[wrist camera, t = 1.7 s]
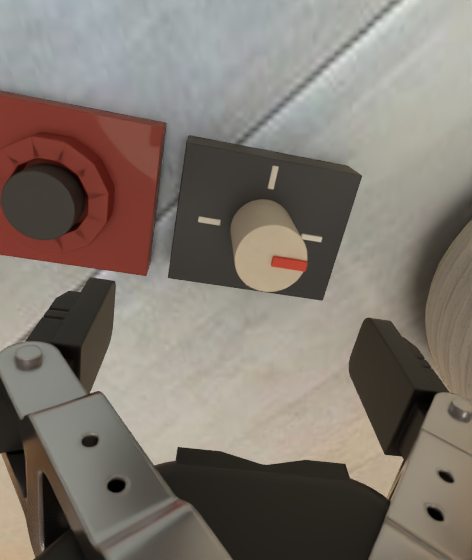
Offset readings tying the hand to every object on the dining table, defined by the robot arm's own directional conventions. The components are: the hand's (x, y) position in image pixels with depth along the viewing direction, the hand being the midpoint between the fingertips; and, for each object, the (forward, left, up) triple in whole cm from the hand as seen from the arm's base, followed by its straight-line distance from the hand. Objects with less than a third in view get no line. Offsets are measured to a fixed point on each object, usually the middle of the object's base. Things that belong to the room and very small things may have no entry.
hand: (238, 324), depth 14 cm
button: (-10, -1, -14) cm, 17 cm away
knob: (+3, -1, -15) cm, 15 cm away
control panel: (+3, -1, -18) cm, 18 cm away
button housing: (-10, -1, -18) cm, 21 cm away
